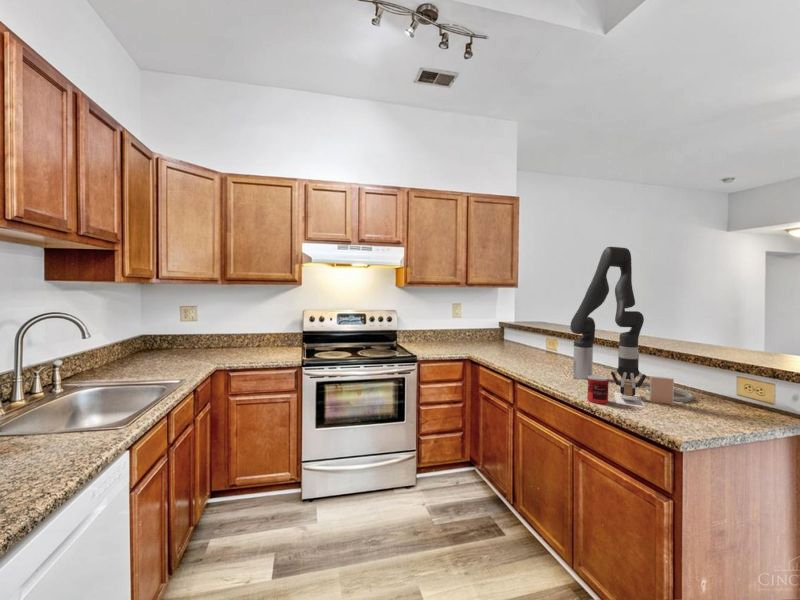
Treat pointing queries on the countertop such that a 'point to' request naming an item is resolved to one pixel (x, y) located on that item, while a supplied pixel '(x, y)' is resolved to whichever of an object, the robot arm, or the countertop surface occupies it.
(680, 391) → the frying pan
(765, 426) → the countertop surface
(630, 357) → the robot arm
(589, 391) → the canned food
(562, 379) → the countertop surface
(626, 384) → the tan long bar
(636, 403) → the mat
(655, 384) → the tile
